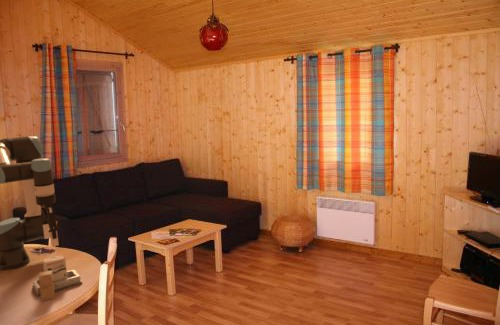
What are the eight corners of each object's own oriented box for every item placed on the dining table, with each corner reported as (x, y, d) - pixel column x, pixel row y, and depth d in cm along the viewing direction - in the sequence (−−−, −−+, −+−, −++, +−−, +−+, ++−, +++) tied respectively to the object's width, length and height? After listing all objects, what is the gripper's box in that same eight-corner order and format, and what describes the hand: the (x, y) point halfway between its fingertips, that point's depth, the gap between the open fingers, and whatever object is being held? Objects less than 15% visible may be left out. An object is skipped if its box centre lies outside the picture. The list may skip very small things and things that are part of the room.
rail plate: (32, 287, 183) (31, 280, 183) (74, 275, 194) (73, 268, 194) (38, 297, 174) (36, 289, 173) (82, 283, 185) (81, 276, 184)
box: (41, 301, 170) (37, 276, 168) (41, 297, 173) (38, 272, 172) (55, 298, 172) (51, 273, 170) (55, 294, 176) (52, 269, 174)
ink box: (47, 288, 179) (44, 262, 177) (45, 284, 183) (41, 259, 181) (68, 282, 184) (65, 257, 182) (65, 279, 188) (62, 254, 186)
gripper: (29, 191, 185) (36, 237, 189) (41, 201, 166) (48, 251, 169) (48, 188, 190) (53, 233, 193) (61, 197, 170) (68, 246, 173)
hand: (51, 241), depth 181 cm, fingers open, 13 cm apart
